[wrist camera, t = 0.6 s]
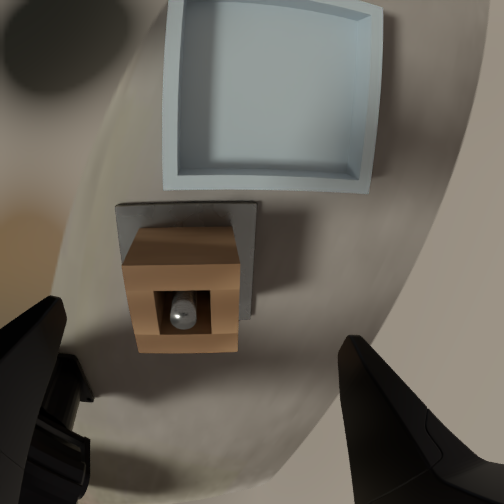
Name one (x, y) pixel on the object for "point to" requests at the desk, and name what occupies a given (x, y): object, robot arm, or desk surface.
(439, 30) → the desk surface
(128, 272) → the wooden block with hole
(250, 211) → the grey peg stand
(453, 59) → the desk surface
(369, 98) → the tray
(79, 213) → the desk surface
